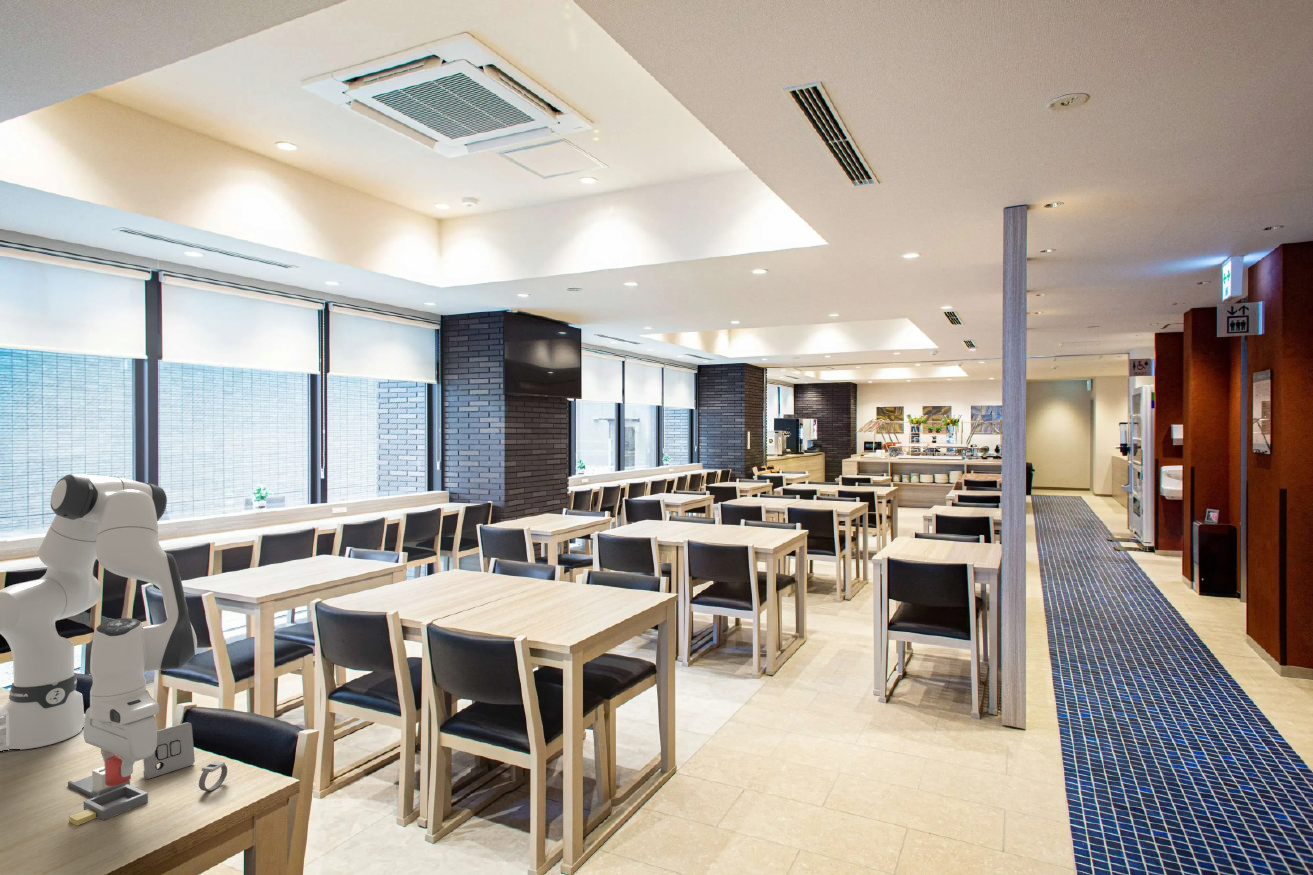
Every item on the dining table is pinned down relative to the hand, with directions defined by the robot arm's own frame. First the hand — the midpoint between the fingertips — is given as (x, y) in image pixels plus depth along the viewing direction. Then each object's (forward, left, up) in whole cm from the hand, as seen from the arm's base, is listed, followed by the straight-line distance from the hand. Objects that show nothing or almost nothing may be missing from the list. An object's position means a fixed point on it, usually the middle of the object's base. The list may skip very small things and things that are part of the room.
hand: (118, 772), depth 136 cm
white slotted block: (-8, +2, -7) cm, 10 cm away
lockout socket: (0, -2, -7) cm, 7 cm away
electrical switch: (-8, +13, -7) cm, 17 cm away
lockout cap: (0, 0, -2) cm, 2 cm away
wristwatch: (+10, +13, -7) cm, 17 cm away
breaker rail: (-12, +2, -7) cm, 14 cm away
